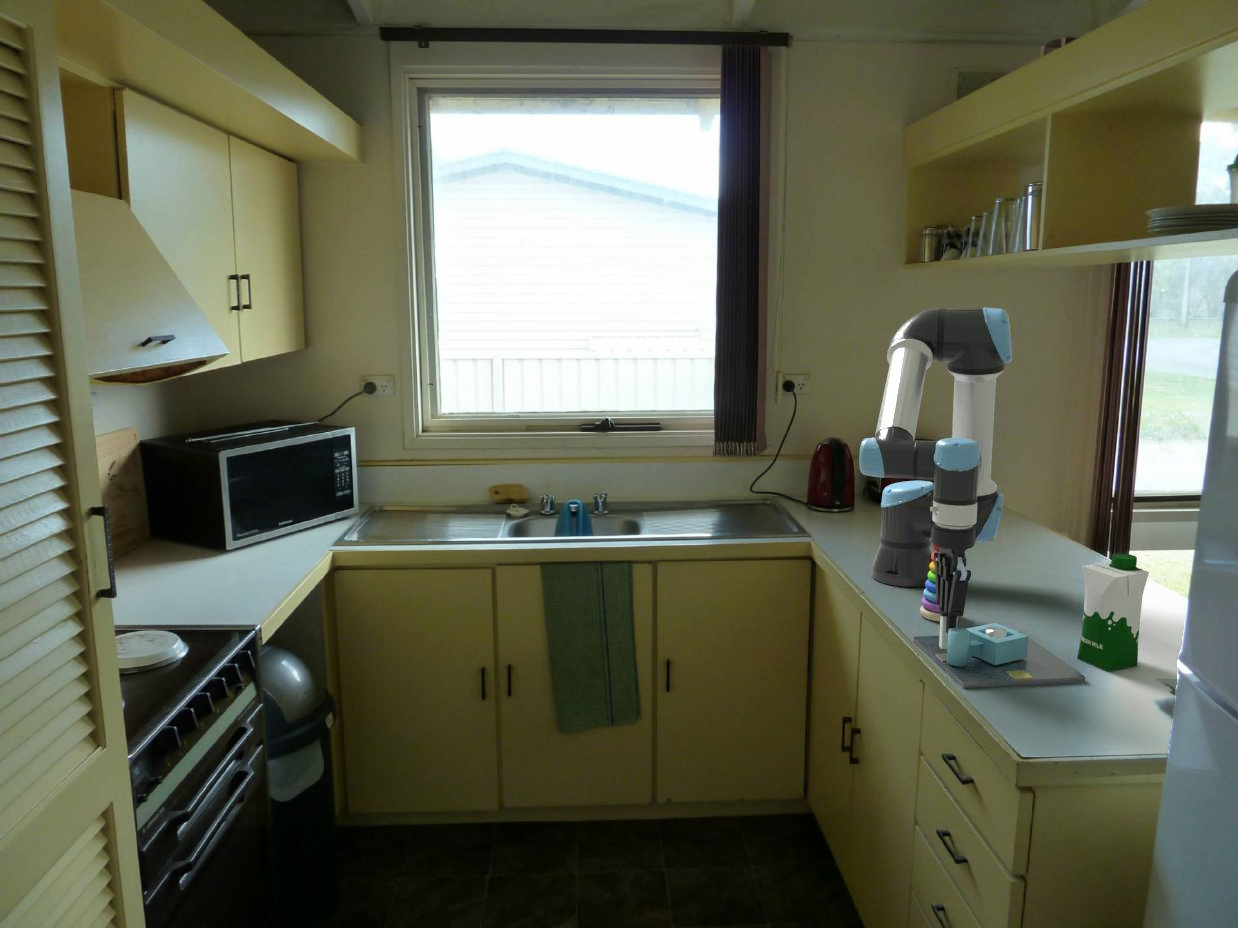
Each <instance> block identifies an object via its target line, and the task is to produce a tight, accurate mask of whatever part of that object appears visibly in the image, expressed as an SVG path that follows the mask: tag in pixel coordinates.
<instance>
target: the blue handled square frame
mask: <svg viewBox="0 0 1238 928" xmlns="http://www.w3.org/2000/svg"><path fill="white" fill-rule="evenodd" d="M987 627H1000V628H1003V629H1005V630H1006V631H1007V633H1006V637H1002V638H997V639H996V638H993V637H991V636H988V635H986V634H985V630H986V628H987ZM1019 632H1020V631H1017V630H1014V629H1012V628H1009V627H1007V626H1004V625H1002V624H999V623H997V622H993V623H988V624H983V625H978V626H977V625H976V626H973V627H968V628H963V627H957V628H950V629H949V630H948V648H947V663H949V664H950V665H953V666H966V665H968V657H971V656H976V657H978V658H980V659H982V660H985V661H987V662H989V663H991V664H993V665H998V664H1003V663H1007V662H1011V661H1016V660H1020V659H1024V658H1027V650H1028V637H1029V635H1026V634H1025V633H1023V632H1022V633H1023V634H1022V633H1019ZM1024 634H1025V635H1024Z"/></svg>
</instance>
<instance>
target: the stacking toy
mask: <svg viewBox="0 0 1238 928" xmlns="http://www.w3.org/2000/svg"><path fill="white" fill-rule="evenodd" d="M932 547H933V550H934V551H935V552H939V548H940V547H937V546H935V545H933V544H932ZM933 555H934V552H932V555H931V559H932V561H933V562H931V563H930V566H929V567H930V570H931V571H929V573H928V580H927V581H926V583H925V586H924V587H925V588H924V590H923V593H922V594H923V597H922V599H921V606H920V608H919V613H920V615H921V616H922V617H923V618H925V619H927V620H929V621H933V622H939V623H940V609H939V605H937V604H936V580H935V562H934V556H933ZM959 617H960V616H958V618H959Z"/></svg>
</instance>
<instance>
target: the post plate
mask: <svg viewBox="0 0 1238 928" xmlns="http://www.w3.org/2000/svg"><path fill="white" fill-rule="evenodd" d="M1018 632H1019V633H1022V634H1024V635H1026V634H1025V633H1024V632H1022V631H1018ZM1006 633H1007V631H1006V630H1005V629H1003V628H1000V627H987V628H986V630H985V634H986V635H988V636H991V637H993V638H996V639H997V638H1002V637H1006ZM912 637H913V638H912V641H913V643H914V644H915V645H916V646H917V647H919V649H921V650H922V652H924V653H925V654H926V655H927V656H928V657H930V659H932V661H934V663H936V664H937V666H939V667H940V668H941V669H942V670H943V671H944V672H945V673H946V674H947V675H949V676H950V677H951V678H952V679H953V680H954V681H955V682H956V683H957V684H958V685H959V686H960V687H961V688H962V689H973V688H974V689H975V688H976V689H979V688H980V689H981V688H995V687H996V688H997V687H998V688H1000V687H1017V686H1019V687H1020V686H1034V685H1035V686H1036V685H1037V686H1039V685H1040V686H1041V685H1057V684H1058V685H1060V684H1076V683H1086V676H1085V675H1083V674H1082V673H1080V672H1079V671H1078V670H1076V669H1075V668H1073V667H1072V666H1071V665H1070V664H1068V663H1066V662H1065V661H1063V660H1062V659H1061V658H1059V657H1058V656H1056V655H1055V654H1054V653H1052V652H1050V651H1049V650H1048V649H1046V648H1045V647H1044V646H1042V645H1040V644H1039V643H1037V642H1036V641H1034V639H1032V638H1031V637H1029V636H1028V650H1027V658H1024V659H1020V660H1016V661H1011V662H1007V663H1003V664H998V665H993V664H991V663H989V662H987V661H985V660H982V659H980V658H978V657H976V656H971V657H968V665H966V666H953V665H950V664H949V663H947V649H941V648H940V647H939V635H921V636H912Z"/></svg>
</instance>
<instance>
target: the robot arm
mask: <svg viewBox="0 0 1238 928" xmlns="http://www.w3.org/2000/svg"><path fill="white" fill-rule="evenodd" d="M1011 332H1012V331H1011V323H1010V317H1009V314H1008V312H1007V311H1006V310H1005V309H1003V308H996V307H995V308H994V307H985V306H984V307H955V308H954V307H953V308H952V307H950V308H949V307H947V308H941V307H938V308H937V307H936V308H935V307H934V308H929V309H926V310H922V311H920V312H918V313H917V314H915V315H913V316H911V317H910V318H909V319H908V320H906V321H905V322H903V324H902V325H901V326H900V327H899V328H898V329H897V331H896V332H895V333H894V334H893V336H892V338H891V340H890V342H889V344H888V348H887V352H886V359H887V362H888V364H889V367H888V372H887V377H886V380H885V381H886V382H885V386H884V389H883V391H884V392H883V395H882V400H881V405H880V410H879V415H878V419H877V424H876V429H875V434H874V437H867V438H863V440H862V441H861V443H860V447H859V458H858V459H859V460H858V462H859V464H858V465H859V470H860V473H861V474H862V475H864V476H869V477H874V478H881V479H883V478H884V479H885V478H890V479H907V481H900V482H899V481H898V482H895V483H891V484H889V485H887V486H885V487H884V488H883V490H882V496H881V503H880V508H881V511H880V512H881V513H880V537H879V538H880V539H879V540H880V541H879V547H878V549H877V551H876V555H875V557H874V560H873V563H872V566H871V577H872V578H873V579H874V580H875V581H877V582H880V583H882V584H885V585H889V586H890V585H891V586H894V587H895V586H896V587H907V588H911V587H912V588H915V587H916V588H917V587H920V588H921V587H926V586H925V583H926V581H927V580H928V573H929V571H931V570H930V567H929V566H930V563H931V562H933V561H932V559H931V555H932V554H933V553H934V555H933V556H934V562H935V580H936V604H937V605H939V609H940V622H939V635H938V636H939V647H940V648H941V649H947V648H948V630H949V629H950V628H958V624H959V623H958V621H959V617H963V616H964V613H965V608H966V607H965V606H966V600H967V594H968V593H967V592H968V588H969V587H968V586H969V582H970V580H971V577H972V572H971V570H970V569H966V567H967V557H966V553H965V552H966V551H967V550H968V549H972V548H973V547H975V544H976V543H990V542H993V541H994V539H996V537H997V533H998V528H999V524H1000V521H1001V515H1002V510H1003V504H1004V497H1005V496H1004V494H1003V493H1001V492H1000V491H998V485H997V484H996V482H995V481H994V480H992V478H991V477H992V459H993V458H992V457H993V443H994V441H993V440H994V439H993V438H994V425H995V423H994V422H995V407H996V406H995V404H996V403H995V401H996V390H997V389H996V387H997V378H998V377H999V376H1000V375H1001V374H1002V373H1004V372H1005V365H1008V364H1009V363H1011V362H1012V361H1013V352H1012V350H1013V349H1012V334H1011ZM933 362H938V363H939V362H940V363H947V372H948V373H950V375H951V376H953V378H954V383H953V384H954V385H953V401H952V402H953V404H952V405H953V407H952V408H953V409H952V429H951V430H952V432H951V433H952V434H951V437H948V438H946V437H945V438H942V439H940V440H937V441H935V440H919V439H918V440H915V438H916V431H917V426H918V425H917V424H918V421H919V415H920V408H921V403H922V396H923V391H924V386H925V385H924V384H925V378H926V371H927V370H929V368H930V367H931V365H932V363H933ZM908 480H909V481H908ZM932 481H933V482H932ZM933 545H935V546H937V547H940V548H939V552H936V551H935V552H932V546H933ZM958 616H959V617H958Z"/></svg>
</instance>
